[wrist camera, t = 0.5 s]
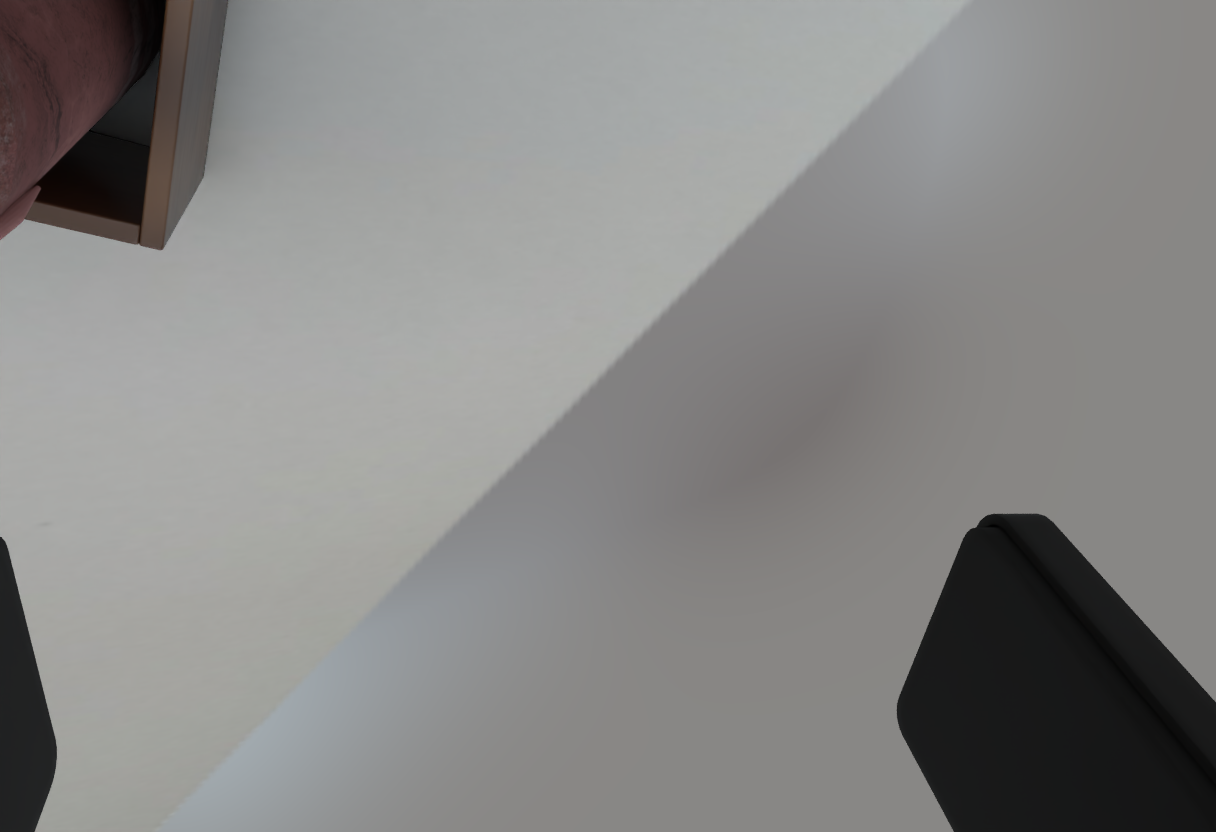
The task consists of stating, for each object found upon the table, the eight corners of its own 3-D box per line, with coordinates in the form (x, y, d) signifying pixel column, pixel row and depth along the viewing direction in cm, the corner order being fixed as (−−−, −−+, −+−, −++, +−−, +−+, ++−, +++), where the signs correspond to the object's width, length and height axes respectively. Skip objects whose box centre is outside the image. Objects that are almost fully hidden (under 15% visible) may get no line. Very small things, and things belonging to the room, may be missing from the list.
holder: (-130, -254, 24) (-276, -272, 18) (245, -122, 26) (207, -106, 21) (-122, 96, 28) (-239, 160, 23) (203, 179, 30) (162, 251, 25)
